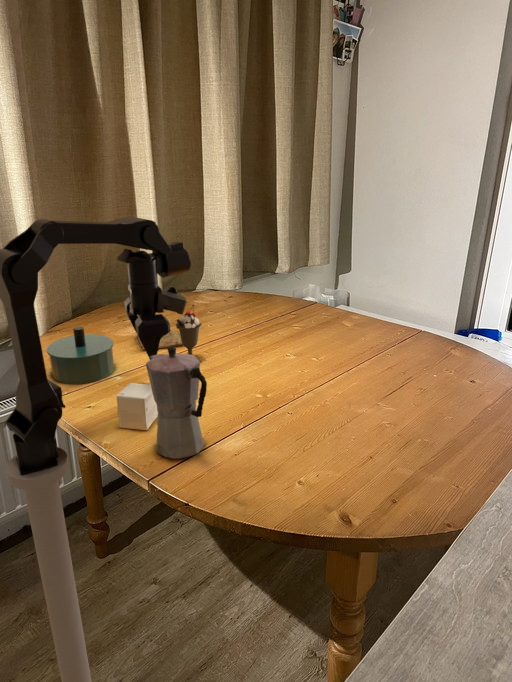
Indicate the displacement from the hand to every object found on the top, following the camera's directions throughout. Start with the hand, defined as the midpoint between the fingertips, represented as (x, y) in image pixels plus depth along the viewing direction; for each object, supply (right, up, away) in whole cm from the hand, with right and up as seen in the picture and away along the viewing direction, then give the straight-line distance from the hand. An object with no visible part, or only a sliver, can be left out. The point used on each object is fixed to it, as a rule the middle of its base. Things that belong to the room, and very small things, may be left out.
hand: (148, 352), depth 107 cm
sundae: (+6, -3, +26) cm, 26 cm away
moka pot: (+9, -18, -13) cm, 24 cm away
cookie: (-5, +2, +38) cm, 39 cm away
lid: (-20, +1, +16) cm, 26 cm away
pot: (-20, -5, +19) cm, 28 cm away
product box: (-1, -14, -4) cm, 15 cm away
